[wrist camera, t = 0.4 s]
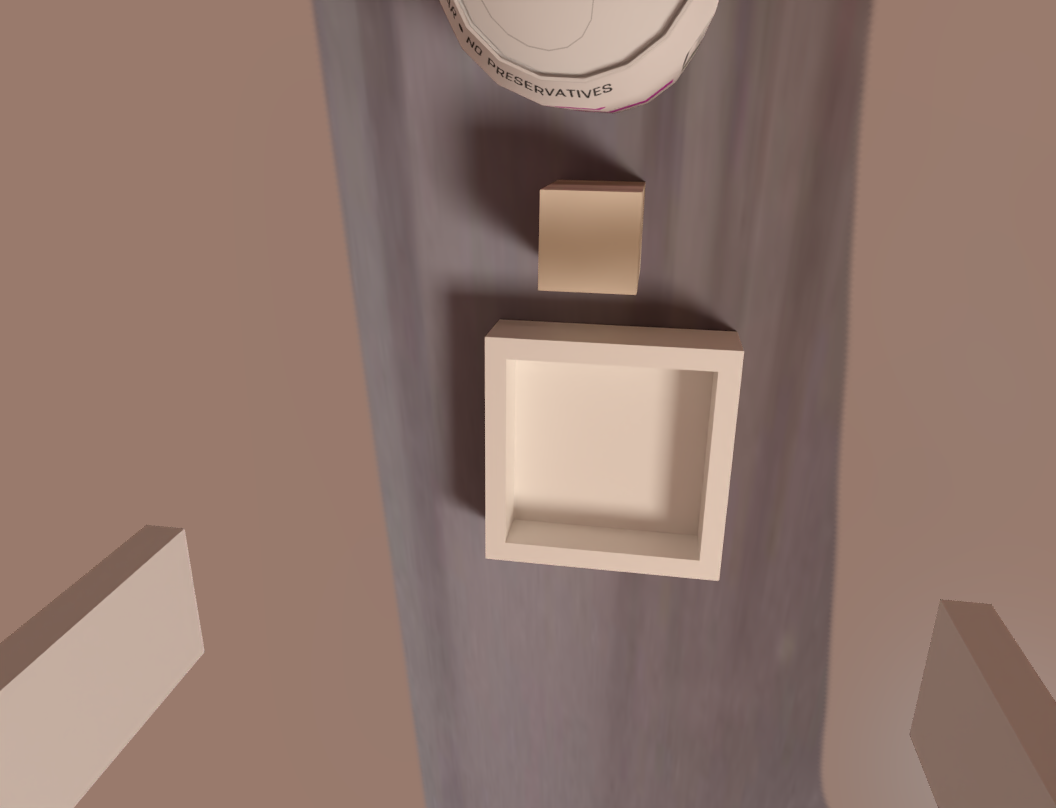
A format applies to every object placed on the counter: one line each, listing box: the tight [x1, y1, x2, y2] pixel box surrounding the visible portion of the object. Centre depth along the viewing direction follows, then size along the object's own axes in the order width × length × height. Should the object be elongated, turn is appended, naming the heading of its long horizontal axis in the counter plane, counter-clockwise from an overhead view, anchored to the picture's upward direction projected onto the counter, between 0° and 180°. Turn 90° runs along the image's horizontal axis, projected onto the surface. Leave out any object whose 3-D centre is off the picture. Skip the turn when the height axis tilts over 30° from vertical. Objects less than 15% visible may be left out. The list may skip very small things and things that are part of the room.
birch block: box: [538, 180, 645, 295], centre depth 34 cm, size 4×4×6 cm
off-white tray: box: [485, 319, 744, 581], centre depth 39 cm, size 12×12×4 cm
